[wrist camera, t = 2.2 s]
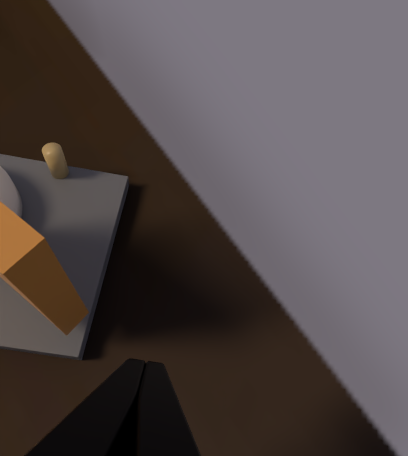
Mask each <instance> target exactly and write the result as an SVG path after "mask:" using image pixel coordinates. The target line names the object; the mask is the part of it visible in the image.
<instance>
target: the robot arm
mask: <svg viewBox="0 0 408 456" xmlns="http://www.w3.org/2000/svg"><path fill="white" fill-rule="evenodd" d="M128 455H129V456H201V454H200V452H199V450H198V447H197V445H196V442H195V440H194V437H193V435H192V432H191V430H190V427H189V425H188V422H187V420H186V417H185V415H184V413H183V410H182V408H181V405H180V403H179V400H178V398H177V395H176V393H175V390H174V388H173V385H172V383H171V380H170V378H169V376H168V373H167V371H166V368H165V366H164V364H163V363H158V362H151V361H148V362H147V363H146V365H145V361H144V360H138V359H127V360H126V361H125V362H124V363H123V364H122V365H121V366H120V367H119V368H118V369H117V370H116V371H114V372H113V373H112V374H111V375H110V376H109V377H108V378H107V379H106V380H105V381H104V382H103V383H101V384H100V385H99V386H98V387H97V388H96V389H95V390H94V391H93V392H92V393H91V394H90V395H89V396H87V397H86V398H85V399H84V400H83V401H82V402H81V403H80V404H79V405H78V406H77V407H76V408H74V409H73V410H72V411H71V412H70V413H69V414H68V415H67V416H66V417H65V418H64V419H63V420H62V421H60V422H59V423H58V424H57V425H56V426H55V427H54V428H53V429H52V430H51V431H50V432H49V433H47V434H46V435H45V436H44V437H43V438H42V439H41V440H40V441H39V442H38V443H37V444H36V445H35V446H33V447H32V448H31V449H30V450H29V451H28V452H27V453H26V454H25V455H24V456H128Z"/></svg>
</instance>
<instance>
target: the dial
mask: <svg viewBox="0 0 408 456" xmlns="http://www.w3.org/2000/svg"><path fill="white" fill-rule="evenodd" d="M21 217H22V201H21V197H20V194H19V192H18V190H17V188H16V187H15V185H14V183H13V182H12V180H11V178H10V176H9V175H8V174H7V172H6V171H5V170H4V169H3V168H2V167H1V166H0V277H1V278H2V279H3V280H4V281H5V282H6V283H8V284H9V285H10V286H11V287H12V288H13V289H14V290H15V291H17V292H18V293H19V294H20V295H21V296H22V297H23V298H24V299H26V300H27V301H28V302H29V303H30V304H31V305H32V306H34V307H35V308H36V309H37V310H38V311H39V312H40V313H41V314H43V315H44V316H45V317H46V318H47V319H48V320H49V321H50V322H52V323H53V324H54V325H55V326H56V327H57V328H58V329H60V330H61V331H62V332H63V333H64V334H65V335H66V336H67V335H68V334H69V333H70V332H71V331H72V330H73V329H74V328H75V327H76V326H77V325H78V324H79V323H80V321H81V320H82V319H83V318H84V317H85V316H86V315H87V314H88V313H89V312H88V310H87V308H86V307H85V305H84V303H83V301H82V300H81V298H80V296H79V295H78V293H77V291H76V290H75V288H74V286H73V285H72V283H71V281H70V280H69V278H68V276H67V275H66V273H65V271H64V270H63V268H62V266H61V264H60V263H59V261H58V259H57V258H56V256H55V254H54V253H53V251H52V249H51V248H50V246H49V244H48V243H47V241H46V239H45V238H44V237H43V236H42V235H41V234H39V233H38V232H37V231H36V230H35V229H33V228H32V227H31V226H30V225H28V224H27V223H26V222H25V221H24V220H22V219H21Z"/></svg>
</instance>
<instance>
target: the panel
mask: <svg viewBox="0 0 408 456" xmlns="http://www.w3.org/2000/svg"><path fill="white" fill-rule="evenodd" d="M42 153H43V155H44V158H45V160H46V162H42V161H36V160H31V159H25V158H19V157H14V156H8V155H2V154H0V166H1V167H2V168H3V169H4V170H5V171H6V172H7V174H8V175H9V176H10V178H11V180H12V182H13V183H14V185H15V187H16V188H17V190H18V192H19V194H20V197H21V201H22V217H21V219H22V220H24V221H25V222H26V223H27V224H28V225H30V226H31V227H32V228H33V229H35V230H36V231H37V232H38V233H39V234H41V235H42V236H43V237H44V238H45V239H46V241H47V243H48V244H49V246H50V248H51V249H52V251H53V253H54V254H55V256H56V258H57V259H58V261H59V263H60V264H61V266H62V268H63V270H64V271H65V273H66V275H67V276H68V278H69V280H70V281H71V283H72V285H73V286H74V288H75V290H76V291H77V293H78V295H79V296H80V298H81V300H82V301H83V303H84V305H85V307H86V308H87V310H88V312H89V313H88V314H87V315H86V316H85V317H84V318H83V319H82V320H81V321H80V323H79V324H78V325H77V326H76V327H75V328H74V329H73V330H72V331H71V332H70V333H69V334H68V335H67V336H66V335H65V334H64V333H63V332H62V331H61V330H60V329H58V328H57V327H56V326H55V325H54V324H53V323H52V322H50V321H49V320H48V319H47V318H46V317H45V316H44V315H43V314H41V313H40V312H39V311H38V310H37V309H36V308H35V307H34V306H32V305H31V304H30V303H29V302H28V301H27V300H26V299H24V298H23V297H22V296H21V295H20V294H19V293H18V292H17V291H15V290H14V289H13V288H12V287H11V286H10V285H9V284H8V283H6V282H5V281H4V280H3V279H2V278H1V277H0V349H7V350H14V351H21V352H28V353H35V354H42V355H48V356H55V357H62V358H69V359H76V360H82V357H83V354H84V350H85V346H86V343H87V339H88V335H89V332H90V328H91V324H92V320H93V317H94V313H95V309H96V306H97V302H98V298H99V295H100V291H101V287H102V284H103V280H104V276H105V272H106V269H107V265H108V261H109V258H110V254H111V250H112V247H113V243H114V239H115V236H116V232H117V228H118V225H119V221H120V217H121V213H122V210H123V206H124V202H125V199H126V195H127V191H128V188H129V182H128V176H122V175H116V174H111V173H105V172H99V171H93V170H88V169H82V168H76V167H71V166H67V163H66V160H65V157H64V154H63V151H62V148H61V146H60V145H59V144H57V143H48V144H46V145H45V146H44V147H43V148H42Z"/></svg>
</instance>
